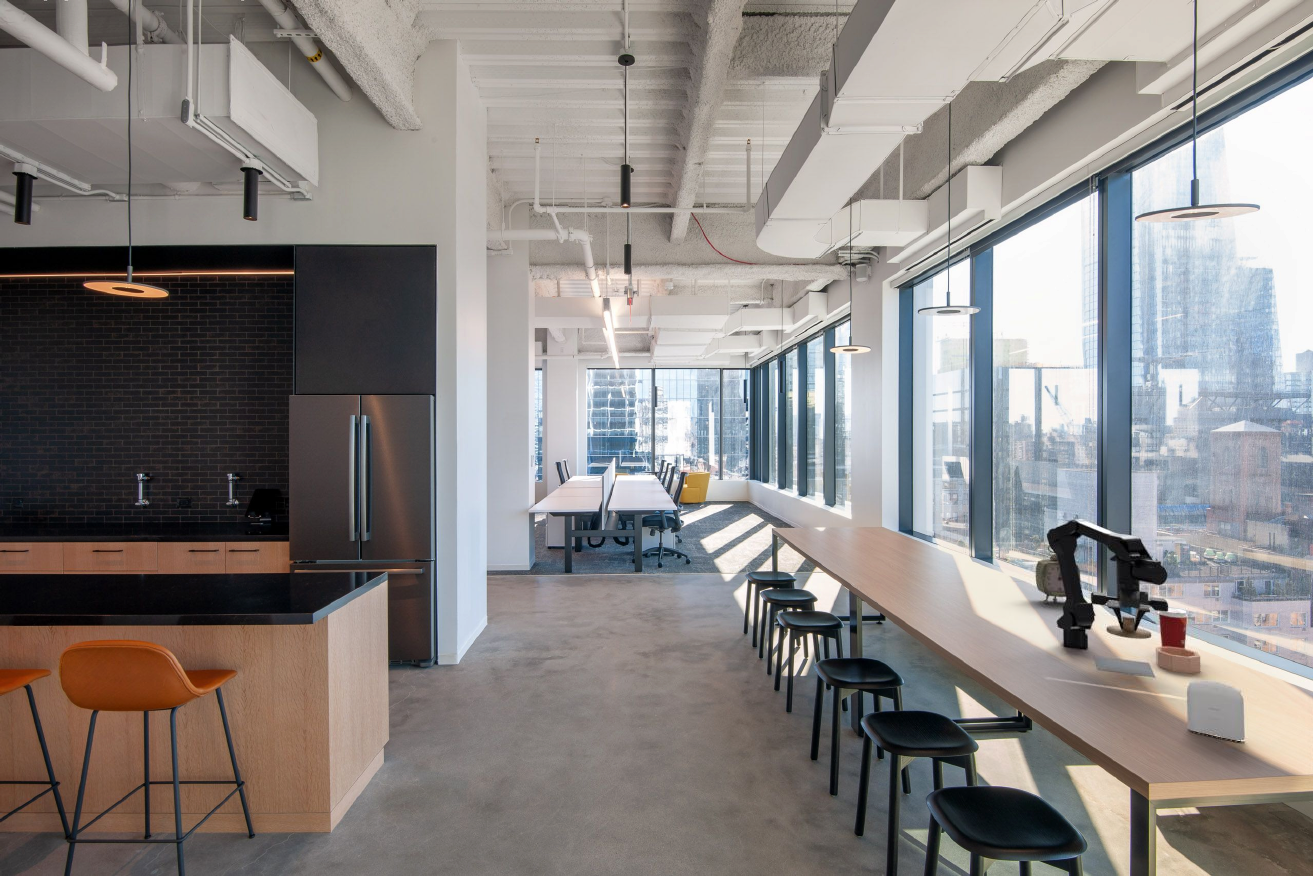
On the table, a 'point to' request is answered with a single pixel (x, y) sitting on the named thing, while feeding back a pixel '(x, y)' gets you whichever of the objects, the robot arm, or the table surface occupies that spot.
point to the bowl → (1178, 659)
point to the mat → (1124, 666)
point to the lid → (1128, 629)
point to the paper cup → (1173, 627)
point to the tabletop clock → (1050, 577)
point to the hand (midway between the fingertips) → (1128, 629)
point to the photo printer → (1215, 709)
